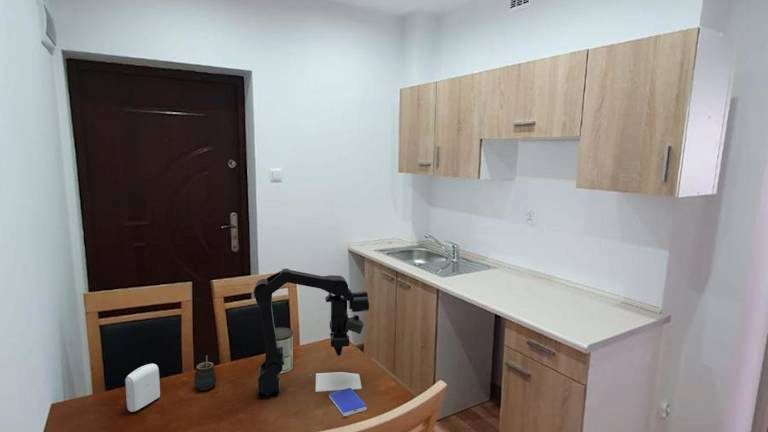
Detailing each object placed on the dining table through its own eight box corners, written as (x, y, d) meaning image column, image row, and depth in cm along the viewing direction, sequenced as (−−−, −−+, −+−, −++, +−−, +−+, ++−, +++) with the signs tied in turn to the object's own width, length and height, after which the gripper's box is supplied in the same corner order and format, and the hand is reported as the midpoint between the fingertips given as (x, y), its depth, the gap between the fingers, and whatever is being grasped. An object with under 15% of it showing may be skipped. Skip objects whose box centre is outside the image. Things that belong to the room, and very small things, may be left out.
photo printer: (134, 413, 130) (132, 375, 128) (124, 410, 131) (122, 373, 130) (162, 396, 139) (160, 361, 138) (153, 394, 141) (151, 359, 139)
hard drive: (329, 392, 141) (343, 412, 130) (351, 387, 144) (366, 405, 134) (329, 397, 141) (343, 416, 130) (351, 391, 145) (366, 410, 134)
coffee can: (261, 366, 161) (260, 331, 160) (284, 358, 168) (284, 325, 167) (273, 376, 154) (273, 340, 152) (298, 368, 161) (298, 333, 159)
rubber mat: (315, 391, 144) (315, 391, 144) (316, 374, 156) (316, 373, 156) (361, 389, 146) (361, 388, 146) (358, 371, 159) (358, 371, 159)
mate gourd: (194, 394, 141) (193, 366, 140) (194, 383, 148) (193, 356, 147) (217, 390, 144) (216, 362, 143) (216, 379, 151) (215, 353, 150)
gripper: (364, 321, 138) (364, 366, 139) (359, 303, 156) (359, 343, 158) (330, 322, 136) (330, 368, 138) (329, 304, 154) (329, 344, 156)
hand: (339, 355), depth 147 cm, fingers closed
